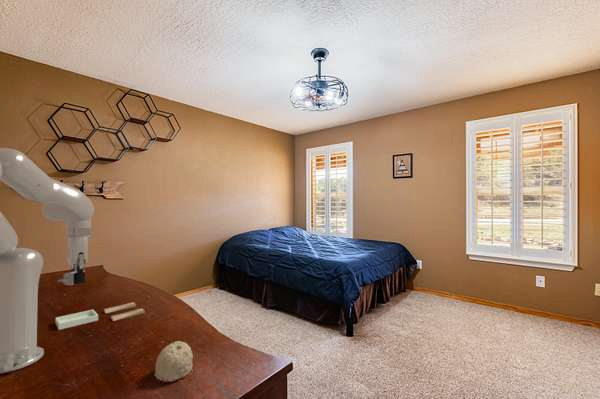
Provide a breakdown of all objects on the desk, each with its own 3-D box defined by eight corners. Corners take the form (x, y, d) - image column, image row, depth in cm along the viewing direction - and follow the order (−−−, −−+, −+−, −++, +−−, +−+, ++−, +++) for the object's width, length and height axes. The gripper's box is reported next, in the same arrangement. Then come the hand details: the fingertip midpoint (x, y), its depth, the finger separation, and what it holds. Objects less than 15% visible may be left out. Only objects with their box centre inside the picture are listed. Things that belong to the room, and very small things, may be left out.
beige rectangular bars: (144, 313, 116) (144, 310, 116) (113, 320, 108) (113, 318, 108) (133, 304, 126) (133, 302, 126) (103, 311, 118) (103, 308, 118)
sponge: (193, 384, 78) (201, 343, 83) (183, 382, 70) (192, 337, 76) (159, 384, 77) (168, 343, 83) (144, 382, 70) (156, 337, 75)
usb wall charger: (83, 282, 108) (83, 271, 108) (64, 287, 102) (64, 275, 102) (75, 281, 109) (75, 270, 109) (56, 286, 103) (56, 275, 103)
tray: (98, 320, 109) (98, 314, 109) (58, 329, 101) (58, 324, 101) (93, 314, 114) (93, 309, 114) (55, 323, 106) (55, 317, 106)
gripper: (62, 232, 111) (61, 279, 111) (69, 235, 99) (68, 288, 99) (85, 230, 116) (85, 275, 116) (96, 234, 105) (95, 284, 104)
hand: (77, 281), depth 108 cm, fingers closed on usb wall charger, 5 cm apart
